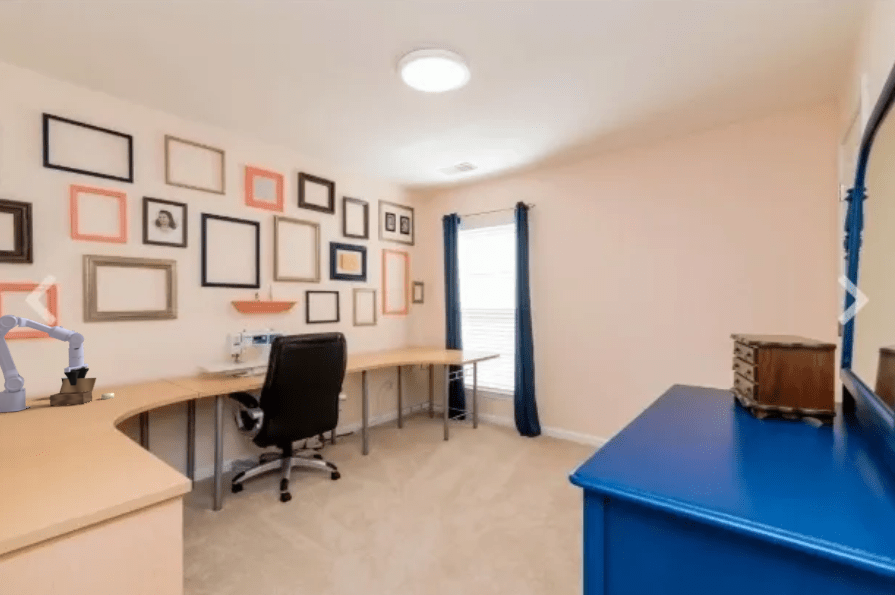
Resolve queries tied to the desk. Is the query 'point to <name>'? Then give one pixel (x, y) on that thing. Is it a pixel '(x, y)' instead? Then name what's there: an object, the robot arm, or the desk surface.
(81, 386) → the lid
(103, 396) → the cream domed disc
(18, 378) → the robot arm
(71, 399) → the walnut box
